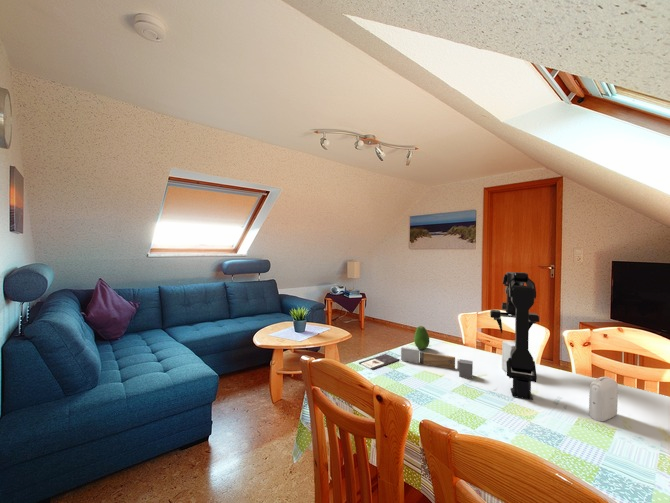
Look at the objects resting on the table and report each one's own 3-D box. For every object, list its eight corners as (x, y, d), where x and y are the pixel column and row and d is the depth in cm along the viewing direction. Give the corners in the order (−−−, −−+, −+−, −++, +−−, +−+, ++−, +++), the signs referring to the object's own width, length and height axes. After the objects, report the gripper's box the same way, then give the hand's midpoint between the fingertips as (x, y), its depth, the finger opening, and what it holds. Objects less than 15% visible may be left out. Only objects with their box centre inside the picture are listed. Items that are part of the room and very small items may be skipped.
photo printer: (602, 423, 95) (603, 383, 94) (586, 416, 98) (587, 378, 98) (619, 415, 99) (620, 377, 99) (603, 409, 103) (604, 372, 103)
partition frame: (461, 370, 134) (461, 356, 134) (401, 360, 145) (401, 347, 145) (461, 368, 136) (461, 354, 136) (402, 358, 147) (402, 346, 147)
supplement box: (528, 376, 129) (528, 346, 128) (510, 375, 129) (511, 345, 129) (518, 368, 136) (518, 340, 136) (501, 368, 136) (501, 340, 136)
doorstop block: (472, 378, 126) (472, 364, 125) (459, 376, 128) (459, 362, 128) (472, 375, 129) (472, 361, 129) (459, 373, 131) (459, 359, 131)
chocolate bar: (399, 359, 145) (372, 368, 134) (399, 361, 145) (372, 371, 134) (385, 353, 152) (358, 362, 141) (385, 355, 152) (358, 364, 141)
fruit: (411, 347, 164) (411, 324, 164) (423, 345, 166) (424, 323, 166) (419, 352, 156) (419, 328, 156) (432, 350, 159) (433, 327, 158)
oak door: (454, 369, 134) (454, 358, 134) (419, 364, 141) (419, 352, 141) (455, 367, 137) (455, 356, 137) (419, 362, 143) (420, 351, 143)
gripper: (535, 298, 141) (534, 332, 141) (489, 295, 149) (489, 327, 149) (540, 302, 131) (539, 339, 131) (491, 299, 139) (490, 333, 139)
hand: (513, 334), depth 138 cm, fingers open, 9 cm apart
